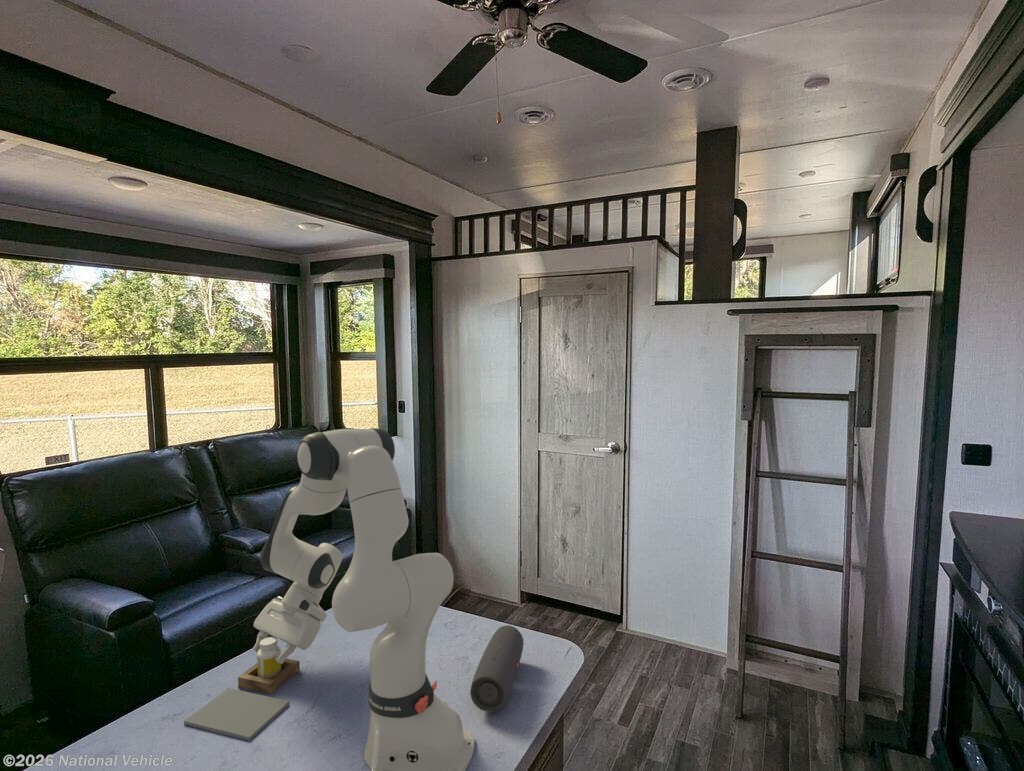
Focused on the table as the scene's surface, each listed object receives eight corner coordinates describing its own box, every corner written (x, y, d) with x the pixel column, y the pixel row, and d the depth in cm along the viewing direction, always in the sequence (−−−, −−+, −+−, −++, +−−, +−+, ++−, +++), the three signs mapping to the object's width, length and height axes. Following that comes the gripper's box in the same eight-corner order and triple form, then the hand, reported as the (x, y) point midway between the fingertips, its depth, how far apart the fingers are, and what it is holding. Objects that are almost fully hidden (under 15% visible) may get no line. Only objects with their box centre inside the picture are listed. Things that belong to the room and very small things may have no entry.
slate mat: (289, 704, 120) (289, 701, 120) (249, 740, 108) (249, 737, 108) (228, 691, 125) (228, 688, 125) (184, 724, 114) (184, 721, 114)
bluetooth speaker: (508, 720, 114) (507, 676, 113) (468, 715, 116) (467, 672, 115) (526, 661, 136) (525, 624, 136) (492, 658, 138) (491, 621, 137)
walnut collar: (299, 670, 133) (299, 660, 133) (271, 694, 124) (270, 683, 124) (268, 664, 136) (268, 654, 136) (238, 686, 127) (237, 677, 127)
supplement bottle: (286, 673, 132) (284, 636, 132) (270, 686, 127) (269, 648, 126) (268, 670, 133) (267, 634, 133) (252, 683, 128) (251, 645, 128)
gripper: (268, 589, 141) (234, 641, 133) (316, 607, 130) (282, 664, 122) (283, 599, 145) (251, 649, 137) (331, 617, 134) (299, 673, 126)
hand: (266, 657), depth 129 cm, fingers open, 8 cm apart
